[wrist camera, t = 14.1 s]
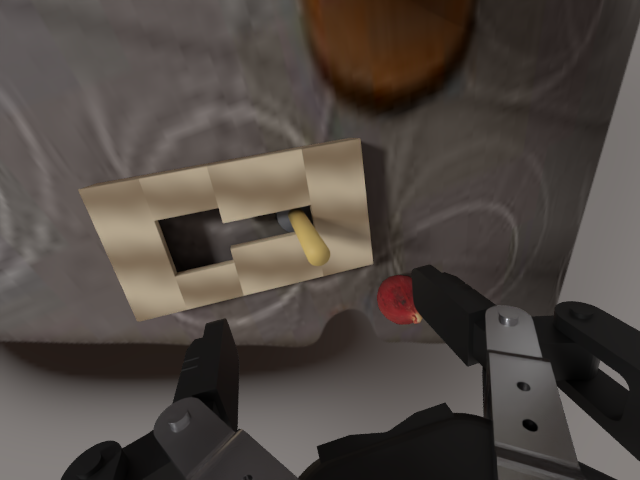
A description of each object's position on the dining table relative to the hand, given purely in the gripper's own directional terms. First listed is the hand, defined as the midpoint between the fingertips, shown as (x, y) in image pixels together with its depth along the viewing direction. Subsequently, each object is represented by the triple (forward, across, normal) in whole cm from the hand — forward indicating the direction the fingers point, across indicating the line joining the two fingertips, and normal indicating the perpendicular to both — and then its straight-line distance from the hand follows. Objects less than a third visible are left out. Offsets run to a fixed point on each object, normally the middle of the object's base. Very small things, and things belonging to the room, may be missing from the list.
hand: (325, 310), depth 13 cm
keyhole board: (+23, +4, +2) cm, 24 cm away
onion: (+23, -12, +15) cm, 30 cm away
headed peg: (+23, -2, +2) cm, 23 cm away
